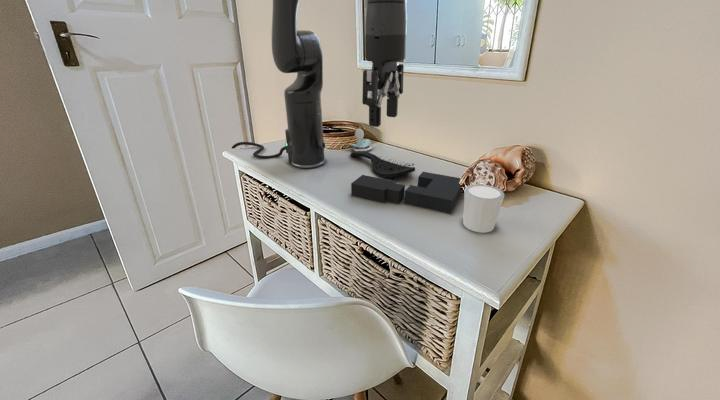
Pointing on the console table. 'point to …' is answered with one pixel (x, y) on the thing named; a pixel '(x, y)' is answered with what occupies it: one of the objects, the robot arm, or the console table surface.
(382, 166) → the hairbrush
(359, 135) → the pacifier
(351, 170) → the console table surface
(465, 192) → the white cylinder
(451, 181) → the notch pad
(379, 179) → the pad
